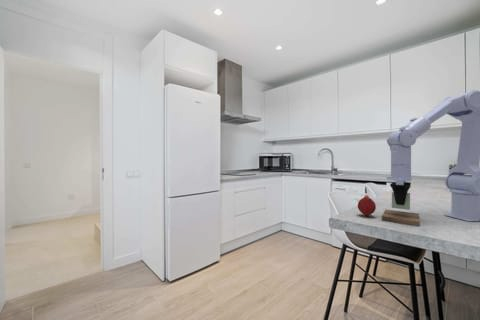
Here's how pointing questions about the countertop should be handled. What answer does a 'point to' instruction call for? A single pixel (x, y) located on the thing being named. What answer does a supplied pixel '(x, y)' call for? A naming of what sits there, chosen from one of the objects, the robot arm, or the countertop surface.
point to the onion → (366, 206)
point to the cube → (405, 206)
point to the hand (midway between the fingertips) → (400, 203)
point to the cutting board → (401, 217)
